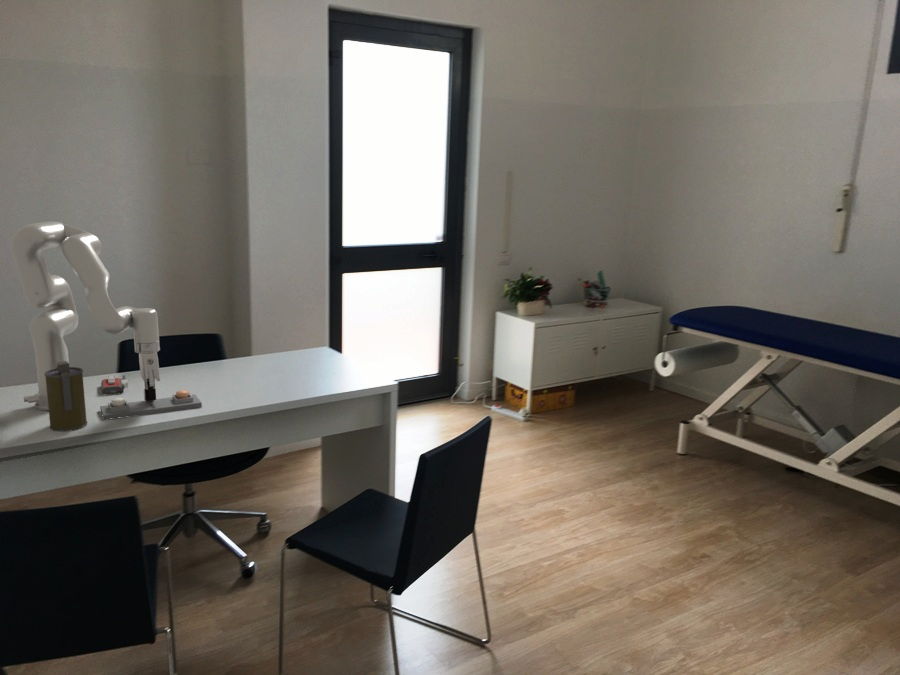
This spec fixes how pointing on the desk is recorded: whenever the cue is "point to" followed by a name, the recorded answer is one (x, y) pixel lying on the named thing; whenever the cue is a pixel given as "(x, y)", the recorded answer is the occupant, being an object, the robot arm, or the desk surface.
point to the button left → (118, 402)
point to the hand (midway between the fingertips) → (150, 399)
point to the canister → (66, 397)
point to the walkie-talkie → (114, 385)
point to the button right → (182, 394)
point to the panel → (150, 406)
